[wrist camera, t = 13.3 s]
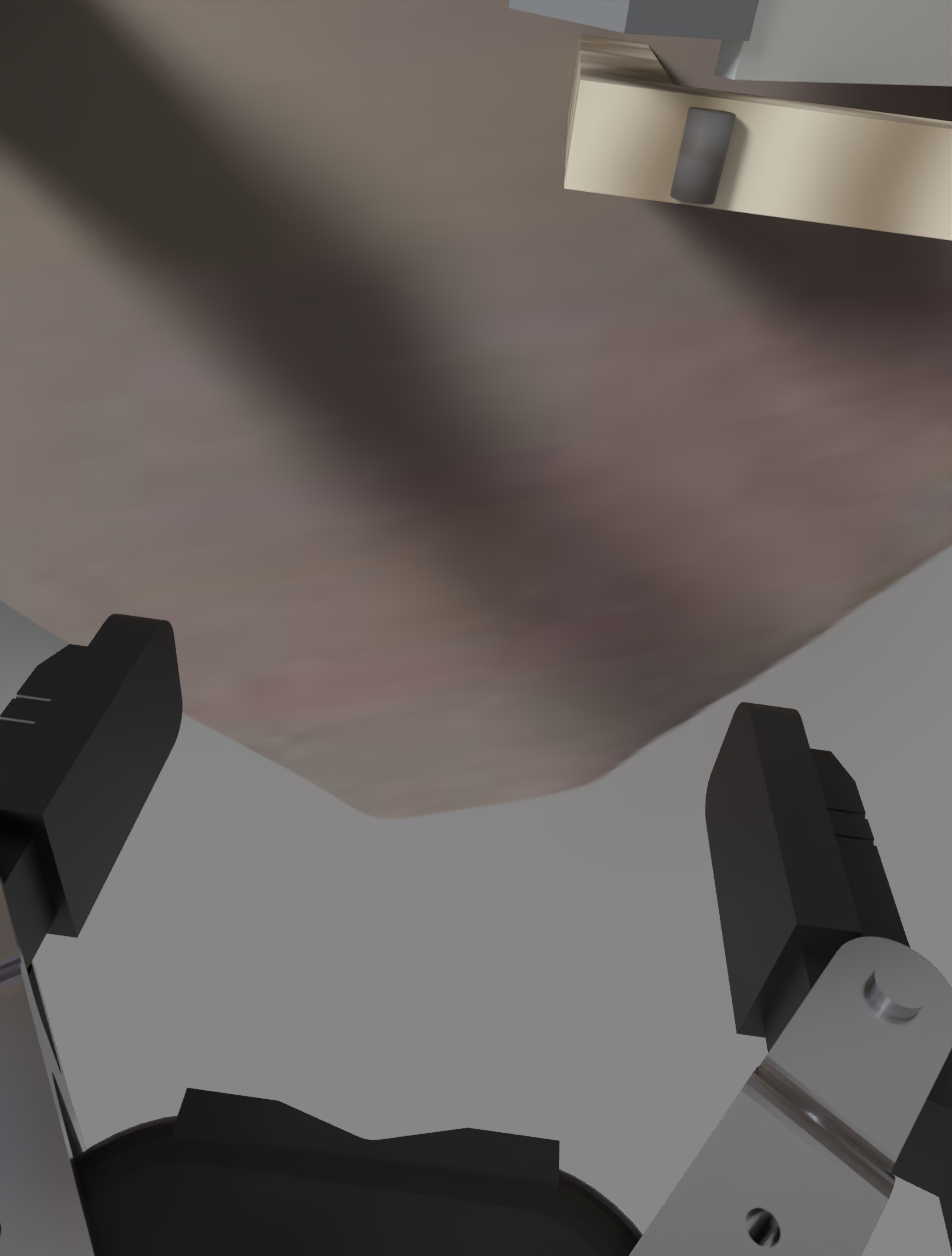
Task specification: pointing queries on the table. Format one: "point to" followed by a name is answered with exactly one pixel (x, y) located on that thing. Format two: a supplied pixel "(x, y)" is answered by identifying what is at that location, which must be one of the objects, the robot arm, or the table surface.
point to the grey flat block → (790, 35)
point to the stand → (751, 149)
